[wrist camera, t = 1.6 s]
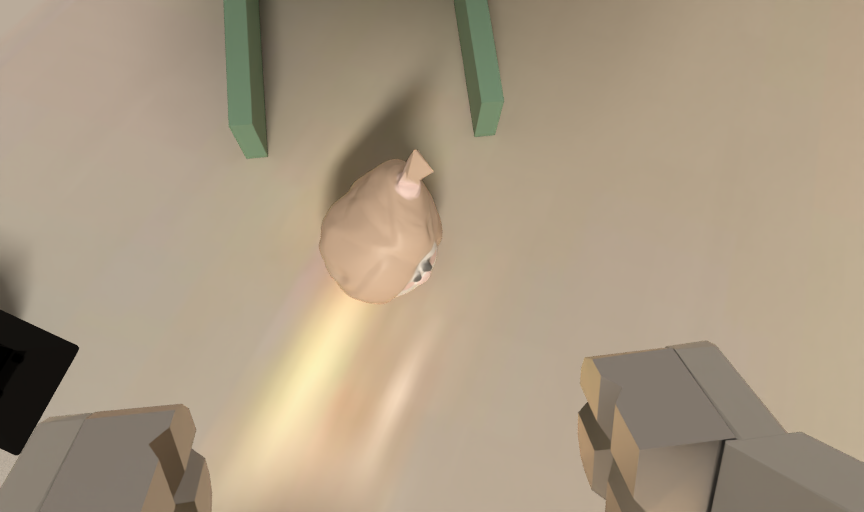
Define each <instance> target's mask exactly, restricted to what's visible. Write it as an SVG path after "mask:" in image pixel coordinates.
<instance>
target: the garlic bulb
mask: <svg viewBox="0 0 864 512" xmlns="http://www.w3.org/2000/svg"><path fill="white" fill-rule="evenodd" d="M433 172H434V171H433V170H432V168H431V167H430V166H429V164H428V163H427V162H426V160H425V159H424V158H423V156H422V155H421V153H420V152H419V151H418V149H417V150H415V149H414V151H413V152H412V153H411V155H410V156H409V158H408V159H407V161H406V162H405V161H403V160H400V159H391V160H388V161H385V162H383V163H381V164H380V165H378V166H377V167H376V168H374V169H373V170H371V171H369V172H367V173H366V174H365V175H363V176H362V177H360V178H359V179H357V180H356V181H355V182H354V183H353V184H352V186H351V188H350V190H349V192H348V193H346V194H345V195H343V196H342V197H341V198H340V199H339V200H337V201H336V202H335V203H334V204H333V205H332V206H331V207H330V209H329V210H328V212H327V214H326V216H325V218H324V220H323V222H322V226H321V239H320V242H319V249H320V253H321V256H322V258H323V260H324V262H325V265H326V268H327V270H328V272H329V274H330V275H331V277H332V278H333V279H334V280H335V281H336V282H337V284H338V285H339V286H340V288H341V289H342V290H343V291H344V292H345V293H346V294H347V295H349V296H350V297H352V298H354V299H357V300H360V301H363V302H366V303H372V304H384V303H387V302H389V301H391V300H393V299H394V298H395V297H397V296H400V295H403V294H406V293H408V292H410V291H411V290H413V289H415V288H416V287H418V286H419V285H420V284H422V283H424V282H425V281H427V280H428V278H429V277H430V275H431V271H432V269H433V267H434V265H435V262H436V258H437V247H438V245H439V243H440V242H441V239H442V224H441V220H440V217H439V214H438V212H437V209H436V206H435V204H434V201H433V198H432V196H431V194H430V192H429V191H428V189H427V188H426V186H425V185H424V183H423V181H422V179H423V178H425V177H426V176H428V175H429V174H431V173H433Z"/></svg>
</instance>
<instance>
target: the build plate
mask: <svg viewBox="0 0 864 512" xmlns="http://www.w3.org/2000/svg"><path fill="white" fill-rule="evenodd" d="M78 350H79V347H78V346H77V345H75V344H73V343H71V342H69V341H67V340H64V339H62V338H60V337H58V336H56V335H54V334H51V333H49V332H47V331H45V330H43V329H41V328H39V327H36V326H34V325H32V324H30V323H28V322H26V321H23V320H21V319H19V318H17V317H15V316H13V315H10V314H8V313H6V312H4V311H2V310H0V449H3V450H5V451H7V452H9V453H11V454H14V455H19V454H20V453H21V451H22V450H23V448H24V446H25V444H26V443H27V441H28V439H29V437H30V435H31V434H32V432H33V430H34V428H35V427H36V425H37V423H38V421H39V420H40V418H41V416H42V414H43V412H44V411H45V409H46V407H47V405H48V404H49V402H50V400H51V398H52V397H53V395H54V393H55V391H56V389H57V388H58V386H59V384H60V382H61V381H62V379H63V377H64V375H65V373H66V372H67V370H68V368H69V366H70V365H71V363H72V361H73V359H74V358H75V356H76V354H77V352H78Z"/></svg>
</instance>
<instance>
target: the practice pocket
mask: <svg viewBox="0 0 864 512" xmlns="http://www.w3.org/2000/svg"><path fill="white" fill-rule="evenodd" d="M454 5H455V12H456V18H457V25H458V31H459V38H460V44H461V51H462V58H463V64H464V71H465V77H466V84H467V91H468V97H469V104H470V110H471V117H472V123H473V130H474V137H479V136H490V135H495V132H496V129H497V125H498V121H499V118H500V114H501V110H502V107H503V103H504V97H503V91H502V85H501V79H500V73H499V67H498V61H497V56H496V50H495V44H494V38H493V32H492V26H491V20H490V14H489V8H488V2H487V0H454ZM224 24H225V48H226V72H227V96H228V120H229V128H230V129H231V131H232V133H233V135H234V137H235V138H236V140H237V142H238V144H239V146H240V148H241V149H242V151H243V153H244V155H245V157H246V159H249V158H260V157H268V152H267V135H266V118H265V101H264V84H263V67H262V50H261V33H260V16H259V0H224Z"/></svg>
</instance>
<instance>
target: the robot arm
mask: <svg viewBox="0 0 864 512" xmlns="http://www.w3.org/2000/svg"><path fill="white" fill-rule="evenodd" d="M580 385H581V388H582V390H583V392H584V394H585V396H586V399H587V401H588V402H587V403H586V404H585V405H584V406H583V408H582V409H581V410H580V411H579V412H578V440H579V448H580V456H581V460H582V463H583V467H584V471H585V474H586V476H587V479H588V482H589V484H590V487H591V489H592V491H594V492H595V493H597V494H598V495H599V496H601V497H602V498H604V499H605V500H606V506H605V512H864V463H863V462H861V461H859V460H857V459H855V458H853V457H851V456H849V455H847V454H845V453H843V452H841V451H839V450H837V449H835V448H833V447H831V446H829V445H827V444H825V443H823V442H821V441H819V440H817V439H815V438H813V437H811V436H809V435H807V434H805V433H803V432H796V433H787V432H786V430H785V429H784V428H783V427H782V425H781V424H780V423H779V422H778V421H777V419H776V418H775V417H774V416H773V414H772V413H771V412H770V411H769V410H768V408H767V407H766V406H765V405H764V403H763V402H762V401H761V400H760V399H759V397H758V396H757V395H756V394H755V392H754V391H753V390H752V389H751V388H750V386H749V385H748V384H747V383H746V381H745V380H744V379H743V378H742V377H741V375H740V374H739V373H738V372H737V370H736V369H735V368H734V367H733V366H732V364H731V363H730V362H729V361H728V359H727V358H726V357H725V356H724V355H723V353H722V352H721V351H720V350H719V348H718V347H717V346H716V345H715V344H713V343H711V342H709V341H700V342H693V343H686V344H679V345H672V346H666V347H665V348H658V349H649V350H641V351H633V352H625V353H617V354H608V355H600V356H592V357H585V358H584V361H583V364H582V367H581V377H580ZM195 433H196V427H195V425H194V422H193V419H192V416H191V413H190V410H189V408H188V407H186V406H184V405H183V404H175V405H164V406H153V407H143V408H132V409H121V410H111V411H100V412H94V413H85V414H75V415H65V416H55V417H49V418H47V419H46V420H44V421H43V422H41V423H39V424H38V425H37V427H36V428H35V430H34V432H33V433H32V435H31V437H30V439H29V440H28V442H27V444H26V445H25V447H24V449H23V450H22V452H21V454H20V456H19V457H18V459H17V461H16V462H15V464H14V466H13V467H12V469H11V471H10V473H9V474H8V476H7V478H6V479H5V481H4V483H3V485H2V486H1V488H0V512H211V511H212V488H211V481H210V474H209V470H208V467H207V463H206V460H205V458H204V457H203V456H201V455H200V454H198V453H197V452H196V451H194V450H193V449H191V448H192V444H193V440H194V437H195Z"/></svg>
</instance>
